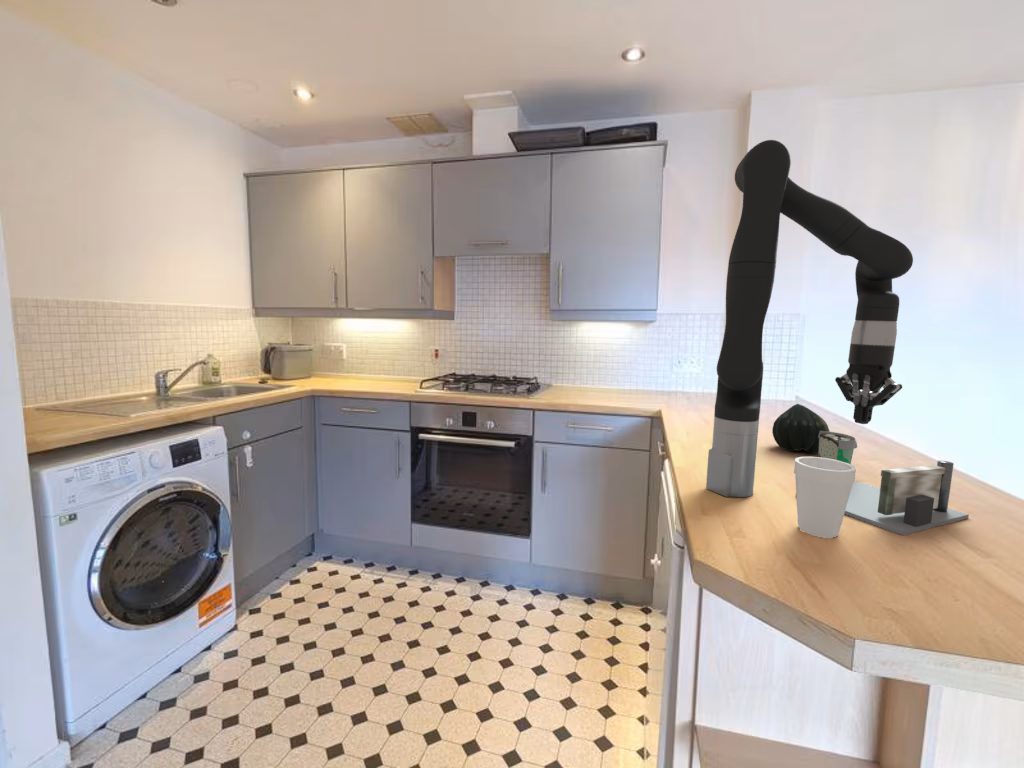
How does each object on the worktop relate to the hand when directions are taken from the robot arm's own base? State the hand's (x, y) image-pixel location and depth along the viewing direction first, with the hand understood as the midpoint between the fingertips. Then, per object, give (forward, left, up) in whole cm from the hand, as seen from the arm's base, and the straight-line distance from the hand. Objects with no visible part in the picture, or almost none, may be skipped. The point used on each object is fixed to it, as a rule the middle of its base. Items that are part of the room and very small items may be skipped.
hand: (861, 423), depth 101 cm
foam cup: (-22, -8, -18) cm, 30 cm away
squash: (+30, +34, -18) cm, 49 cm away
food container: (+17, +14, -18) cm, 29 cm away
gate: (+1, -10, -16) cm, 19 cm away
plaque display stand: (+2, -4, -18) cm, 18 cm away
